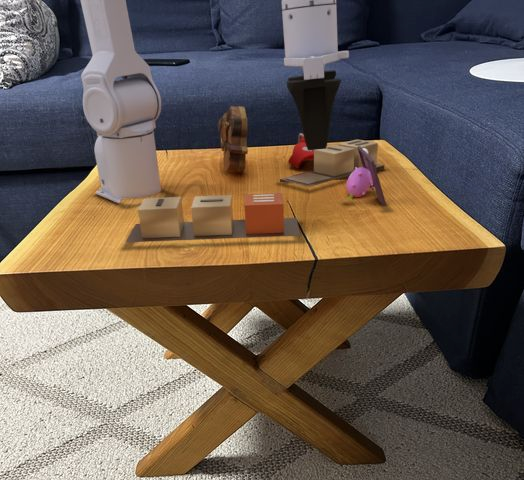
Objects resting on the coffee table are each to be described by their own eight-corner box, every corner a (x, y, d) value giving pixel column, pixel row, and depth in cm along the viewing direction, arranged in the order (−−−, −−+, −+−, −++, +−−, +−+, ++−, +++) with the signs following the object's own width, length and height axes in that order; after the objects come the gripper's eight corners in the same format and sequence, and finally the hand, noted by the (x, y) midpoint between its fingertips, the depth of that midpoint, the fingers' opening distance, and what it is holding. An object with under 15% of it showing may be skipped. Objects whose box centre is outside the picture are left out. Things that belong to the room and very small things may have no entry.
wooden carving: (213, 161, 100) (208, 100, 94) (238, 159, 100) (234, 98, 95) (229, 184, 86) (225, 115, 81) (258, 181, 87) (255, 112, 81)
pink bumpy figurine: (379, 158, 68) (364, 143, 76) (339, 174, 69) (328, 158, 77) (393, 208, 72) (377, 189, 80) (354, 223, 73) (343, 202, 80)
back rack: (309, 192, 81) (309, 161, 79) (279, 184, 85) (278, 155, 83) (384, 170, 90) (386, 142, 88) (354, 163, 94) (355, 137, 92)
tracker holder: (357, 155, 94) (320, 151, 87) (347, 181, 96) (310, 178, 89) (307, 130, 100) (269, 124, 93) (299, 154, 103) (261, 150, 96)
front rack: (126, 248, 64) (119, 212, 62) (136, 229, 69) (130, 195, 67) (300, 242, 64) (300, 204, 62) (296, 223, 69) (296, 188, 67)
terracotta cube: (246, 234, 64) (244, 204, 62) (246, 222, 68) (245, 193, 66) (284, 232, 64) (283, 202, 62) (282, 220, 68) (282, 191, 66)
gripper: (353, -1, 52) (356, 151, 59) (342, 6, 65) (345, 130, 71) (278, 8, 53) (289, 157, 59) (281, 13, 65) (290, 135, 72)
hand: (315, 143), depth 65 cm, fingers open, 7 cm apart
